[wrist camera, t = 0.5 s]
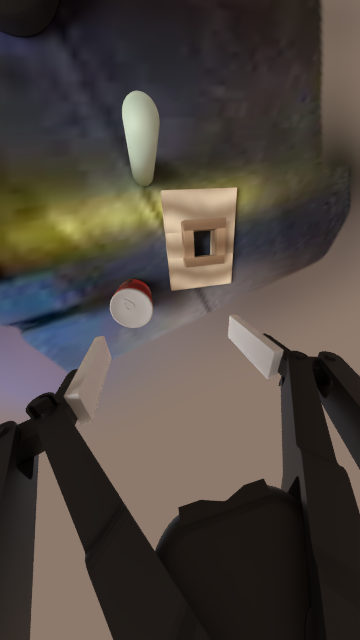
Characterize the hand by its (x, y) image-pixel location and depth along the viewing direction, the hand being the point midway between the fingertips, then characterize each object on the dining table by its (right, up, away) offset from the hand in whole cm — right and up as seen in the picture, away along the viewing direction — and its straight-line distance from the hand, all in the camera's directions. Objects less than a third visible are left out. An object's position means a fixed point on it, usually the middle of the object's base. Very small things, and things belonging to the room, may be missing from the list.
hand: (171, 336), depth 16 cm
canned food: (-10, +8, +23) cm, 26 cm away
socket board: (+6, +20, +20) cm, 29 cm away
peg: (-6, +30, +13) cm, 33 cm away
